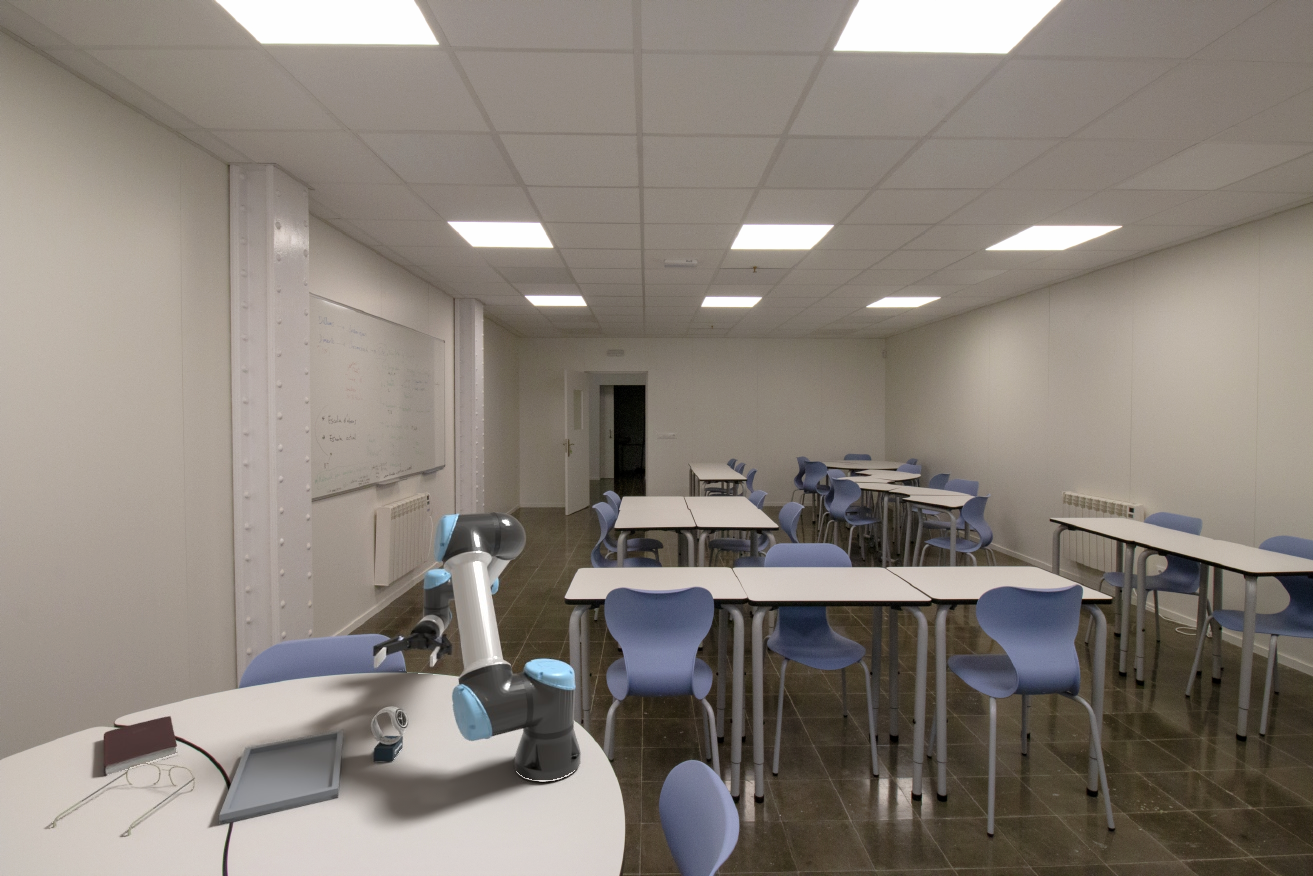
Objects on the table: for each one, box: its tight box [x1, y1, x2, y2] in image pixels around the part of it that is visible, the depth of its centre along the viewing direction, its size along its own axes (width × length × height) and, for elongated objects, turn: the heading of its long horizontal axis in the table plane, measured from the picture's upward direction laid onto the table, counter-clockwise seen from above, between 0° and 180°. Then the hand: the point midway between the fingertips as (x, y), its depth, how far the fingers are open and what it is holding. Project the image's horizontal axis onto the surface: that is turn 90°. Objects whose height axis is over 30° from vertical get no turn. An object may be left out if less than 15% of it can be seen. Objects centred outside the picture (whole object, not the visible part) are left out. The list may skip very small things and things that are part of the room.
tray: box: [218, 729, 344, 826], centre depth 126 cm, size 26×20×2 cm
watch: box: [370, 706, 409, 762], centre depth 135 cm, size 6×8×11 cm
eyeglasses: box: [52, 762, 196, 837], centre depth 114 cm, size 16×15×5 cm
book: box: [103, 715, 178, 777], centre depth 135 cm, size 12×19×3 cm, turn 44°
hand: (403, 662), depth 144 cm, fingers open, 13 cm apart
